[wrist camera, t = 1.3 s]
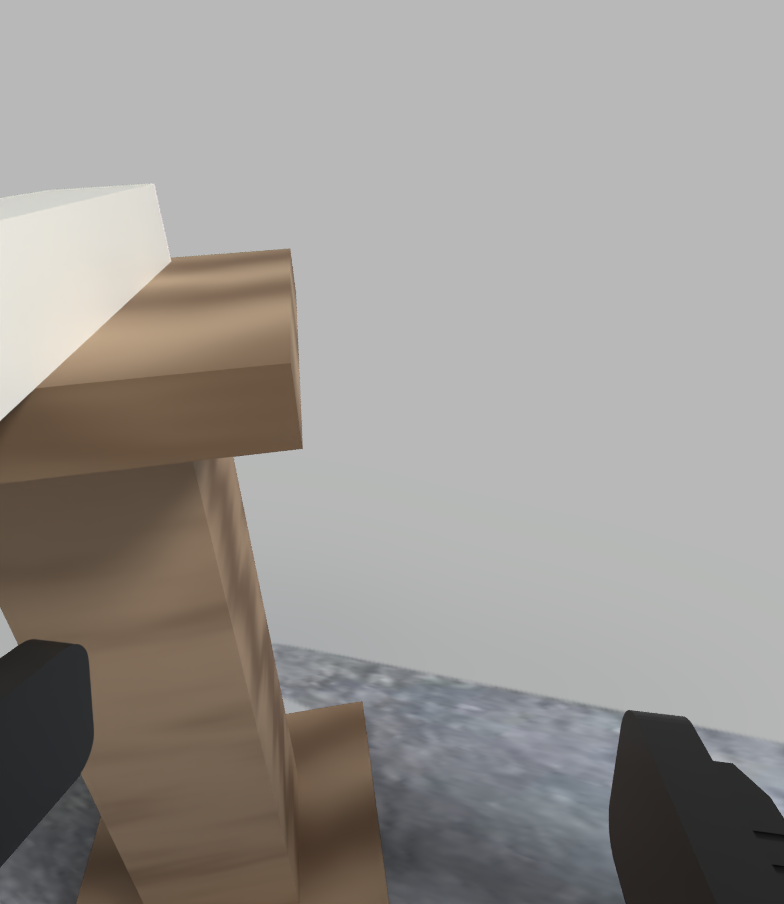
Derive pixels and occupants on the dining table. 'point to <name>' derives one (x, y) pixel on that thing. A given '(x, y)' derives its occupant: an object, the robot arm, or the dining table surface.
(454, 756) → the dining table surface
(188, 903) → the stand
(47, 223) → the white long block
